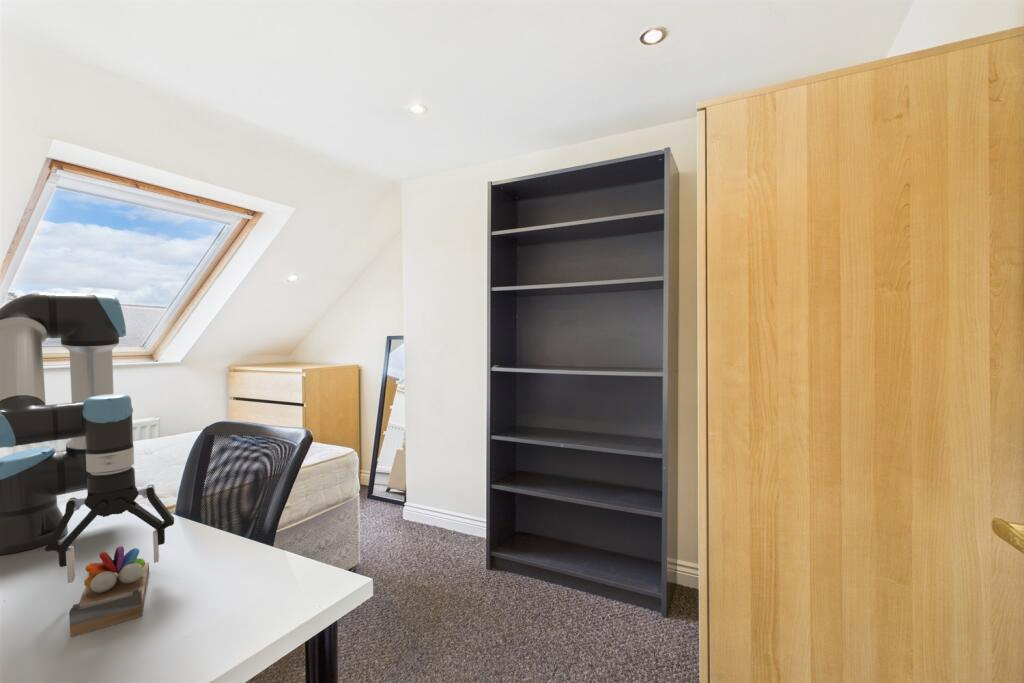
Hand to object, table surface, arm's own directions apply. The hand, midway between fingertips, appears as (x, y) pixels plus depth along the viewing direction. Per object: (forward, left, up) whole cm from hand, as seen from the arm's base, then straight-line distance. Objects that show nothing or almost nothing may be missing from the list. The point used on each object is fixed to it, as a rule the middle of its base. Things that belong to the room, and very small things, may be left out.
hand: (115, 569), depth 97 cm
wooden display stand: (+4, 0, -4) cm, 6 cm away
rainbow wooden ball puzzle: (+1, 0, -3) cm, 3 cm away
